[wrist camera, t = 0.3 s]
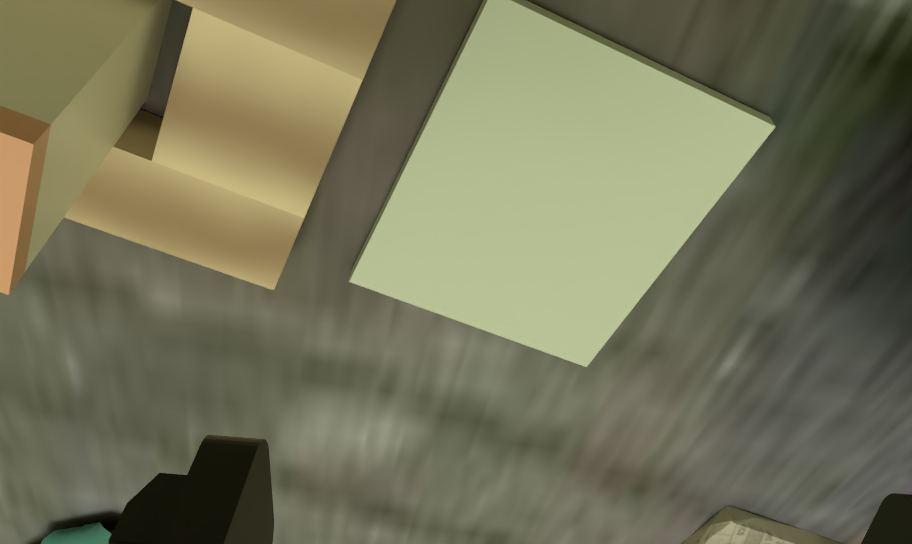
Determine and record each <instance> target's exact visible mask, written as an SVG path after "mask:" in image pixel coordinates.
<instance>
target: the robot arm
mask: <svg viewBox="0 0 912 544" xmlns="http://www.w3.org/2000/svg"><path fill="white" fill-rule="evenodd" d="M273 532H274V513H273V500H272V487H271V473H270V460H269V448H268V443H267V441H266V440H265V439H253V438H241V437H229V436H217V435H208V436H206V437H205V438H204V440H203V441H202V443H201V445H200V447H199V450H198V452H197V454H196V456H195V459H194V461H193V463H192V466H191V468H190V470H189V472H188V475H178V474H166V473H159V474H158V475H157V476H156V477H155V478H154V479H153V480H152V481H151V482H149V483H148V484H147V485H146V486H145V487H144V488H143V489H142V490H141V491H140V492H139V493H138V494H137V495H136V496H134V497H133V498H132V499H131V500H130V501H129V502H128V503H127V505H126V507H125V509H124V511H123V513H122V515H121V517H120V519H119V520H118V522H117V524H116V526H115V528H114V530H113V532H112V534H111V536H110V538H109V540H108V541H109V543H108V544H272V542H273ZM861 544H912V495H908V494H895V493H893V494H890V495H888V496H887V497H886V498H885V499H884V500H883V502H882V503H881V505H880V507H879V509H878V511H877V513H876V515H875V517H874V519H873V521H872V523H871V525H870V527H869V529H868V531H867V533H866V535H865V537H864V539H863V541H862V543H861Z"/></svg>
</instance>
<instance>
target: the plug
mask: <svg viewBox="0 0 912 544" xmlns="http://www.w3.org/2000/svg"><path fill="white" fill-rule="evenodd" d="M172 1H173V0H0V292H1V293H4V294H8V295H9V294H10V292H11V291H12V290H13V288H14V287H15V285H16V284H17V282H18V281H19V280H20V278H21V277H22V275H23V274H24V273H25V271H26V270H27V268H28V267H29V265H30V264H31V263H32V261H33V260H34V258H35V257H36V256H37V254H38V253H39V251H40V250H41V248H42V247H43V246H44V244H45V243H46V241H47V240H48V239H49V237H50V236H51V234H52V233H53V231H54V230H55V229H56V227H57V226H58V224H59V223H60V222H61V220H62V219H63V217H64V216H65V214H66V213H67V212H68V210H69V209H70V207H71V206H72V205H73V203H74V202H75V200H76V199H77V197H78V196H79V195H80V193H81V192H82V190H83V189H84V188H85V186H86V185H87V183H88V182H89V180H90V179H91V178H92V176H93V175H94V173H95V172H96V171H97V169H98V168H99V166H100V165H101V163H102V162H103V161H104V159H105V158H106V156H107V155H108V154H109V152H110V151H111V149H112V148H113V146H114V145H115V144H116V142H117V141H118V139H119V138H120V137H121V135H122V134H123V132H124V131H125V129H126V128H127V127H128V125H129V124H130V122H131V121H132V120H133V118H134V117H135V115H136V114H137V112H138V111H139V110H140V108H141V107H142V105H143V104H144V103H145V101H146V100H147V98H148V96H149V92H150V88H151V84H152V80H153V76H154V72H155V68H156V64H157V60H158V56H159V52H160V48H161V44H162V40H163V36H164V32H165V29H166V25H167V21H168V17H169V13H170V9H171V5H172Z"/></svg>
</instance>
